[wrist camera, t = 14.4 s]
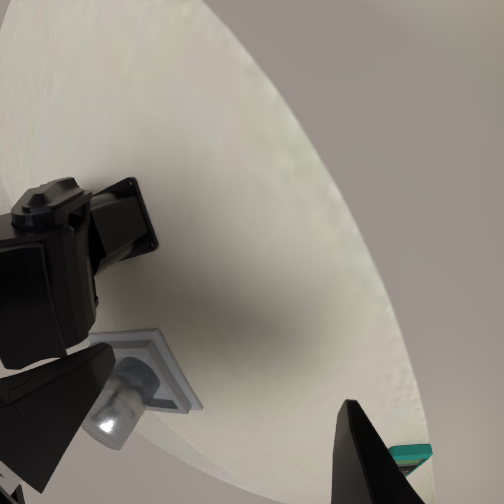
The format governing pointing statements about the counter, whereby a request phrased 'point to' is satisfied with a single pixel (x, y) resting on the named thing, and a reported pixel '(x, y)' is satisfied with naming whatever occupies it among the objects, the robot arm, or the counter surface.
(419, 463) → the digital multimeter
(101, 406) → the metal cylinder
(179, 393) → the holder
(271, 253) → the counter surface
